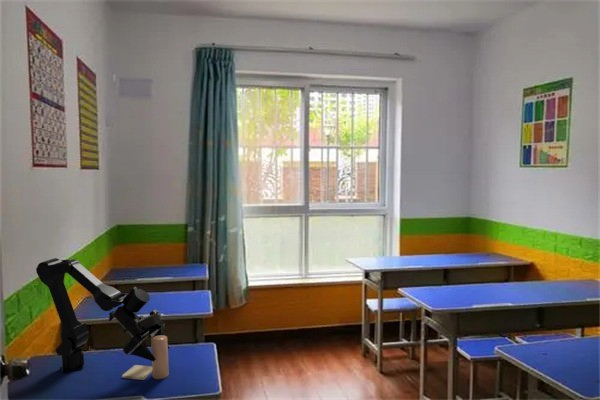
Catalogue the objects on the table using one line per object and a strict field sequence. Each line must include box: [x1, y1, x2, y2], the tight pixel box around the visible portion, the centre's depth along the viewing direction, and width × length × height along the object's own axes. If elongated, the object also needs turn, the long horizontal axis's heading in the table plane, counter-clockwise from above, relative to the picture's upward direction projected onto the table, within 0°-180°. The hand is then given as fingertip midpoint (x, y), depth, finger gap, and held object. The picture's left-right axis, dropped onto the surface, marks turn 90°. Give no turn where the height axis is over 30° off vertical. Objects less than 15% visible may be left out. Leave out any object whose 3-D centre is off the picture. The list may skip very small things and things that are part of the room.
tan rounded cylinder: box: [150, 334, 170, 380], centre depth 160 cm, size 5×5×13 cm
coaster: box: [121, 364, 153, 381], centre depth 162 cm, size 8×8×1 cm
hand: (161, 354), depth 160 cm, fingers open, 9 cm apart
